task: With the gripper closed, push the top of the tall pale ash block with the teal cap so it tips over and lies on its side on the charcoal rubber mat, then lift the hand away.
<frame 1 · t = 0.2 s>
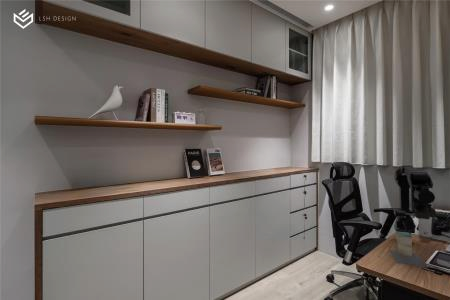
hand: (419, 232, 111), 14 cm above the table, fingers open, 9 cm apart
ash block: (404, 253, 120), point 1 cm above the table, touching mat
travel mug: (425, 236, 143), on the table
mat: (407, 259, 115), on the table
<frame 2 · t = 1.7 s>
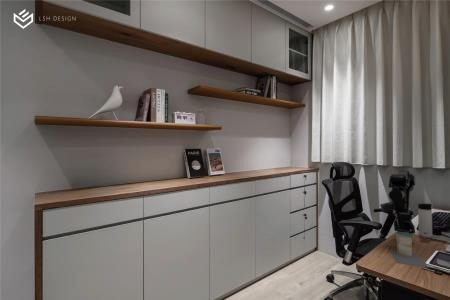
hand: (400, 227, 126), 11 cm above the table, fingers closed
nothing on the table moved.
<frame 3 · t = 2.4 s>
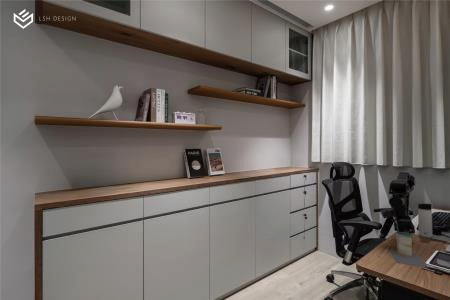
hand: (400, 234, 126), 8 cm above the table, fingers closed
nothing on the table moved.
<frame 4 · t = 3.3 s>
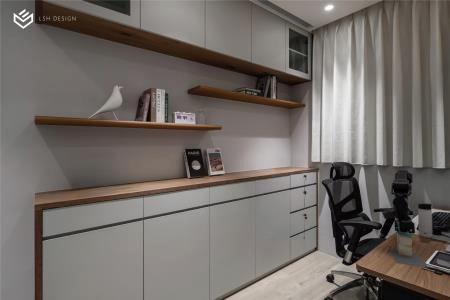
hand: (402, 235, 123), 8 cm above the table, fingers closed
ash block: (404, 253, 120), point 1 cm above the table, touching gripper, mat
everything else where it was.
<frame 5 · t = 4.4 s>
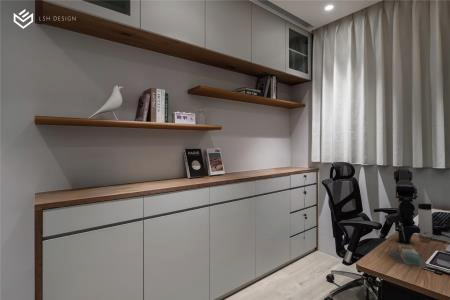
hand: (406, 241, 116), 8 cm above the table, fingers closed
ash block: (405, 250, 117), point 3 cm above the table, tilted 90°, touching mat
everything else where it was.
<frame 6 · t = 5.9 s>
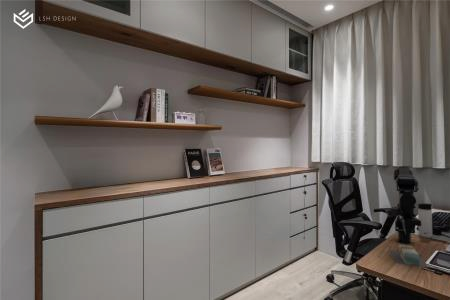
hand: (407, 235, 114), 12 cm above the table, fingers closed
nothing on the table moved.
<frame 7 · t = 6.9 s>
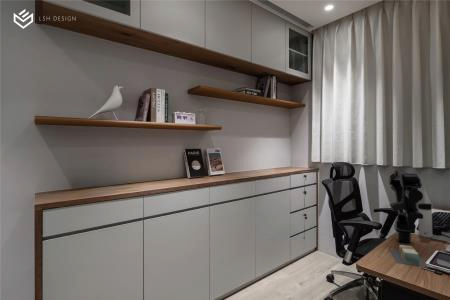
hand: (410, 227, 124), 12 cm above the table, fingers closed
nothing on the table moved.
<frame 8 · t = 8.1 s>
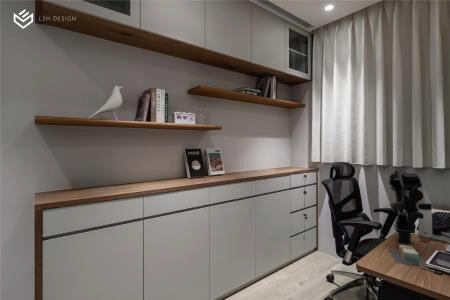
hand: (410, 227, 124), 12 cm above the table, fingers closed
nothing on the table moved.
at the end: ash block tilted 90°; ash block inside the target area (5.0 cm from its centre), point 3.1 cm above the table; the gripper is holding nothing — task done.
